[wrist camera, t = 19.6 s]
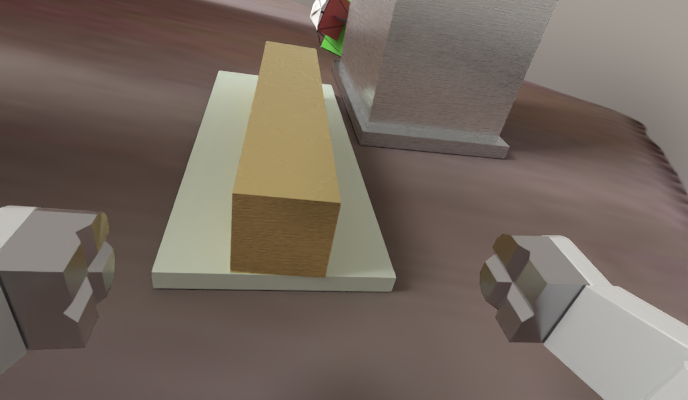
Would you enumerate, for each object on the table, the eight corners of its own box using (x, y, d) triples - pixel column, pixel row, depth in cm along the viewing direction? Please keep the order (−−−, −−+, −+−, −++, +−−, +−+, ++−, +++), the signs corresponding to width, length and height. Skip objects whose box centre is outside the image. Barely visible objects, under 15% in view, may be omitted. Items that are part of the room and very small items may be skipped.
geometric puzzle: (356, 24, 50) (335, -38, 44) (396, 40, 46) (380, -25, 40) (316, 61, 49) (288, 3, 42) (353, 81, 45) (330, 20, 39)
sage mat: (391, 291, 16) (396, 277, 16) (153, 288, 14) (151, 272, 14) (329, 94, 34) (331, 85, 34) (219, 80, 32) (219, 70, 32)
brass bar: (325, 277, 15) (341, 203, 13) (229, 272, 15) (232, 193, 13) (309, 95, 31) (316, 49, 29) (263, 89, 30) (266, 41, 28)
